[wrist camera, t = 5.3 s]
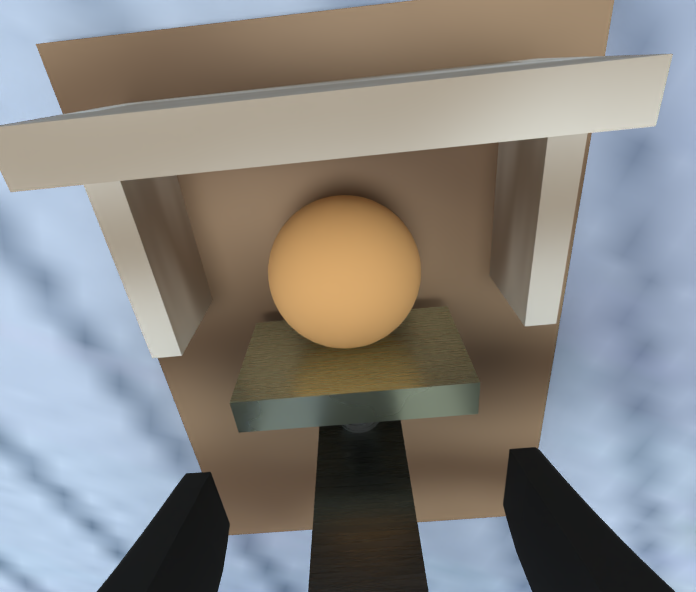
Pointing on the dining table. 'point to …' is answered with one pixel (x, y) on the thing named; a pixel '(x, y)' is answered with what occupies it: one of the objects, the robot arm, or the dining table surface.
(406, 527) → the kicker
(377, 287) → the ball
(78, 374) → the dining table surface
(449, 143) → the brown piece
